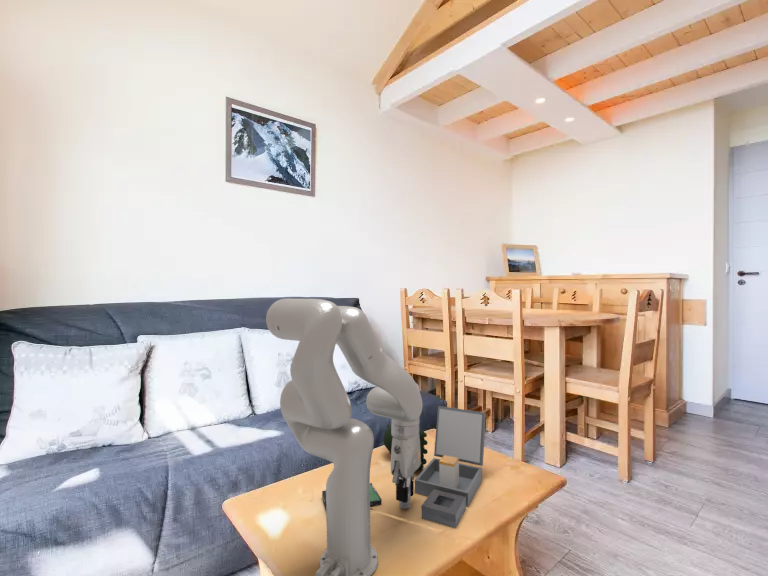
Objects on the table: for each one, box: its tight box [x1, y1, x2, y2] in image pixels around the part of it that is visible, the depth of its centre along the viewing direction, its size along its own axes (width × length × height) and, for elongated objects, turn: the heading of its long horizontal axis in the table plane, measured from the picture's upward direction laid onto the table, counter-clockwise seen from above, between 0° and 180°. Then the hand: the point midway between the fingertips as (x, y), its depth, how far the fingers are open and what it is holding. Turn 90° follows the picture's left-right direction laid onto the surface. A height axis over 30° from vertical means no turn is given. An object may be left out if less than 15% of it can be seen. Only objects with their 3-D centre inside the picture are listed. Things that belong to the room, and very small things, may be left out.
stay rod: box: [398, 472, 412, 510], centre depth 104 cm, size 3×3×10 cm
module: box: [439, 455, 460, 489], centre depth 115 cm, size 4×4×8 cm
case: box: [414, 457, 483, 508], centre depth 115 cm, size 16×16×4 cm
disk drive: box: [321, 482, 383, 511], centre depth 108 cm, size 10×3×15 cm
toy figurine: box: [382, 422, 429, 471], centre depth 132 cm, size 9×19×25 cm
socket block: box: [421, 489, 467, 529], centre depth 101 cm, size 9×9×4 cm
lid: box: [433, 405, 487, 467], centre depth 124 cm, size 16×16×1 cm
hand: (404, 497), depth 104 cm, fingers closed on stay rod, 3 cm apart
